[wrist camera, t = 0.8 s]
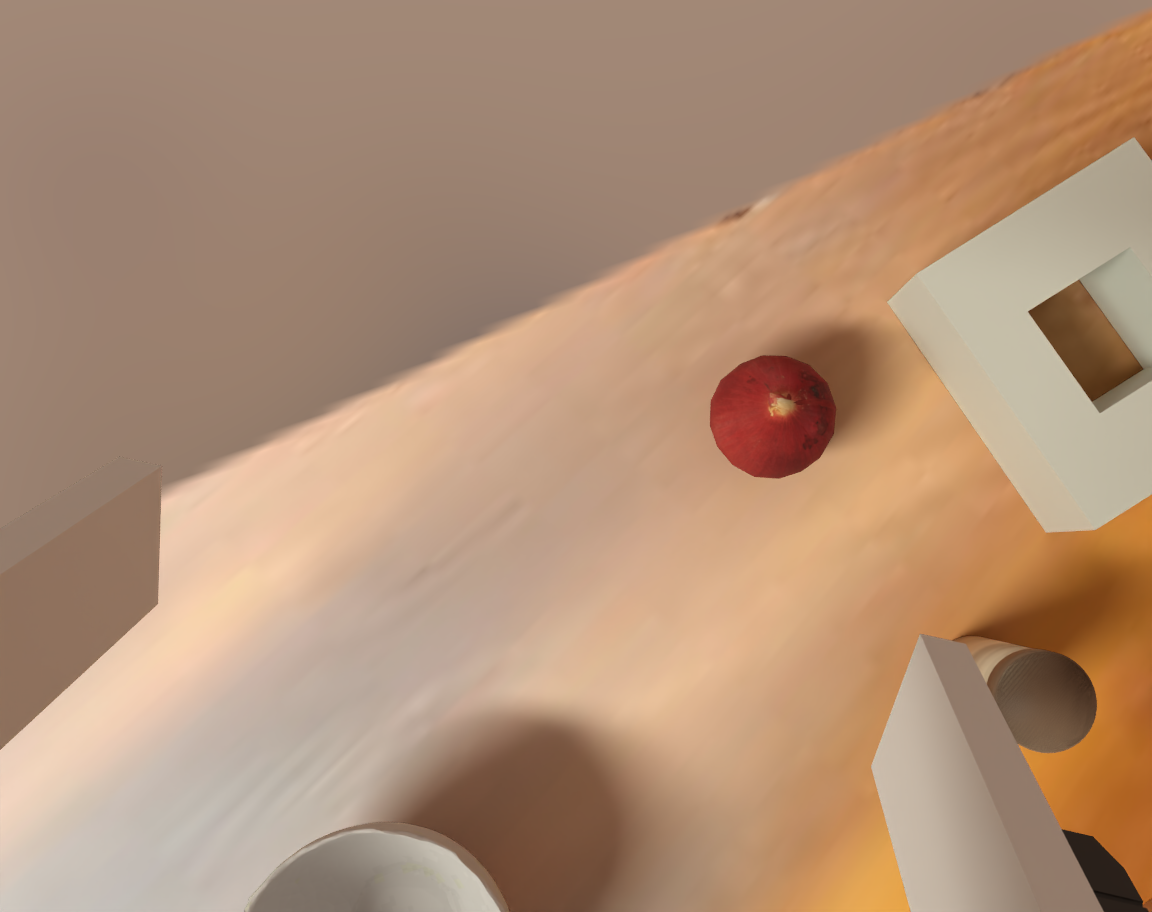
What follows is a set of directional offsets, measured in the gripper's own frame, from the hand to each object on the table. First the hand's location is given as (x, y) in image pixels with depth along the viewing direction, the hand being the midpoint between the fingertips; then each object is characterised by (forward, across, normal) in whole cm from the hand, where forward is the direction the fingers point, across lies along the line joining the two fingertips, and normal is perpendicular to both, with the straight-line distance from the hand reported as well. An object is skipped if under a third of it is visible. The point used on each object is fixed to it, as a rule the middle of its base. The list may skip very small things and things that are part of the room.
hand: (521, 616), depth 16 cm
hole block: (+36, -22, -1) cm, 42 cm away
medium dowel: (+28, -21, +15) cm, 38 cm away
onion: (+33, -8, +6) cm, 34 cm away
